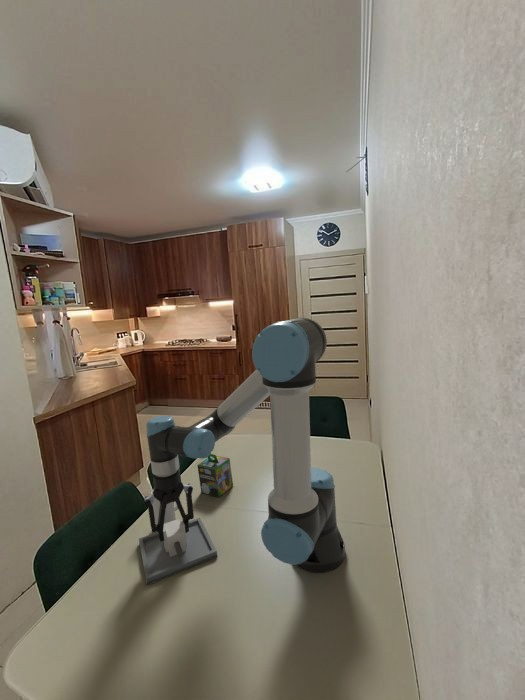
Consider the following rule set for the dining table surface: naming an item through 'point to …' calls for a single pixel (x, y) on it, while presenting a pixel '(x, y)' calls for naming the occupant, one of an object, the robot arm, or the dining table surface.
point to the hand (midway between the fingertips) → (175, 545)
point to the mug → (168, 512)
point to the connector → (175, 538)
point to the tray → (164, 565)
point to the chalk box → (215, 475)
